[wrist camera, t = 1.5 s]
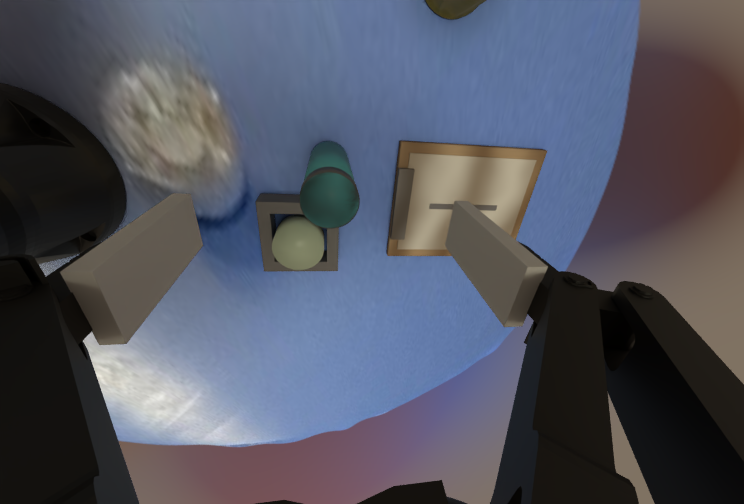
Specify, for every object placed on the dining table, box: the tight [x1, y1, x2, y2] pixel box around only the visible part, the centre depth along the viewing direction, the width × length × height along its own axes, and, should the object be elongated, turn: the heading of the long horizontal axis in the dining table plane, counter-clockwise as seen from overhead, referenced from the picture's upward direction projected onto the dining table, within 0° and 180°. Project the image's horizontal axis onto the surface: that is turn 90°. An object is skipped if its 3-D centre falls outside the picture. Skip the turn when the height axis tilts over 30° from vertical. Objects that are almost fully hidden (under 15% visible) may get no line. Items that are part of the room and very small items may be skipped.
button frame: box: [256, 193, 339, 271], centre depth 32 cm, size 8×8×2 cm
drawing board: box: [387, 140, 547, 256], centre depth 33 cm, size 16×13×1 cm
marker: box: [299, 141, 360, 229], centre depth 24 cm, size 4×4×13 cm
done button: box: [272, 214, 324, 270], centre depth 30 cm, size 5×5×3 cm
